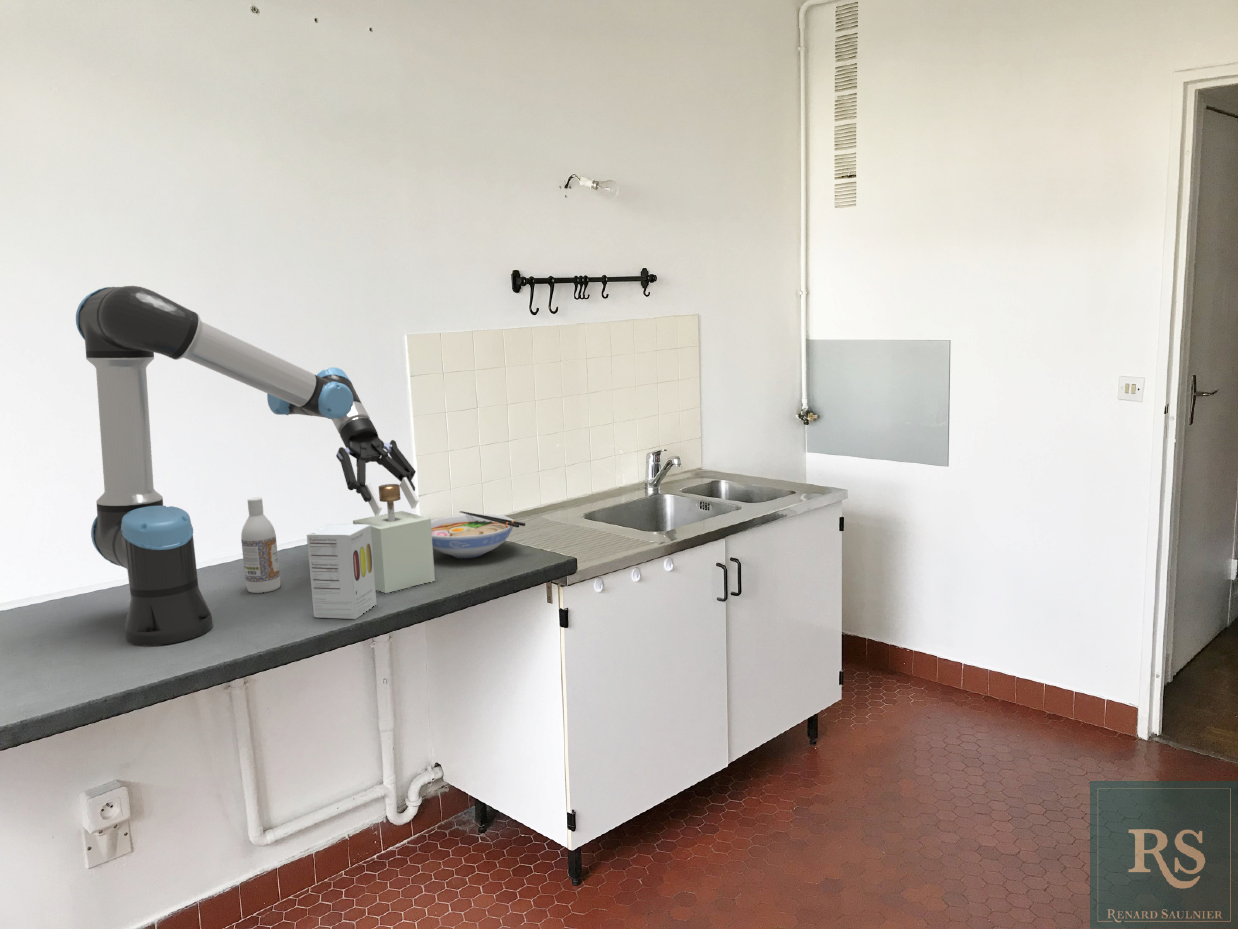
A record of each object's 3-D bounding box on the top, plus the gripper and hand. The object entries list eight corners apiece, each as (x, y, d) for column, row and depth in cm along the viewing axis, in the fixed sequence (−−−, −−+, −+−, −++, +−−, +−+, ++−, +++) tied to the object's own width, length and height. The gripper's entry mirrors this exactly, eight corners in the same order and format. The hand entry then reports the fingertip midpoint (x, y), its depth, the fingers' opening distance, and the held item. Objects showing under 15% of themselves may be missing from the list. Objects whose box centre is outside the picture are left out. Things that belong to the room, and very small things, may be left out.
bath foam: (275, 593, 206) (265, 501, 203) (242, 594, 206) (232, 502, 203) (284, 583, 213) (276, 494, 210) (253, 584, 213) (243, 495, 210)
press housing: (385, 594, 203) (380, 529, 200) (358, 583, 212) (352, 520, 209) (434, 581, 211) (430, 518, 208) (406, 571, 219) (402, 510, 217)
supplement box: (356, 620, 187) (349, 535, 184) (312, 618, 189) (304, 534, 186) (378, 604, 196) (371, 523, 193) (336, 603, 198) (329, 522, 195)
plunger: (387, 579, 204) (380, 492, 201) (366, 570, 211) (359, 486, 208) (425, 569, 210) (419, 485, 207) (403, 562, 217) (397, 480, 214)
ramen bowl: (399, 555, 234) (397, 522, 232) (478, 537, 249) (477, 505, 247) (456, 575, 215) (454, 539, 214) (538, 554, 230) (536, 520, 229)
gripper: (392, 432, 224) (433, 510, 215) (306, 444, 210) (347, 527, 202) (402, 411, 220) (445, 489, 211) (314, 421, 206) (357, 506, 197)
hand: (397, 508), depth 206 cm, fingers open, 8 cm apart
